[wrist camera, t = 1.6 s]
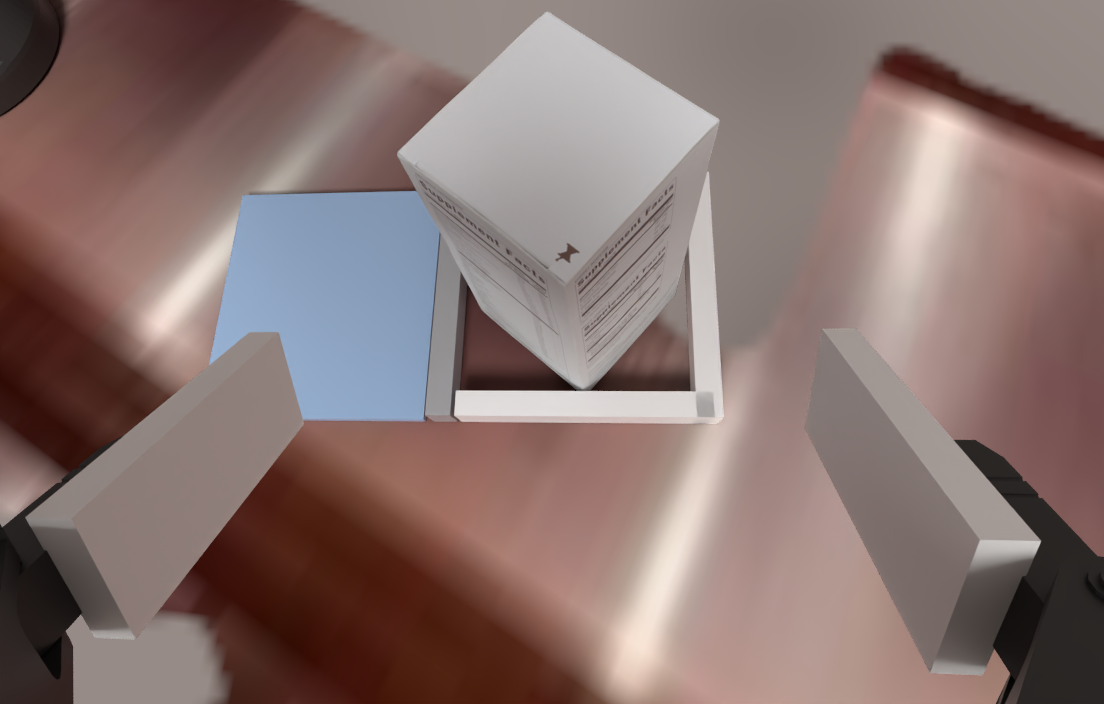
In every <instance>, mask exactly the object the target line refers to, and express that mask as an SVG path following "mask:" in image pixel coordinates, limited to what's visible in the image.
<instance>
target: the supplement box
mask: <svg viewBox="0 0 1104 704" xmlns="http://www.w3.org/2000/svg"><path fill="white" fill-rule="evenodd" d="M719 122H720V121H719V119H718V118H717V117H715V116H713V115H712V114H710V113H708V112H707V111H705V110H703V109H702V108H700V107H698V106H697V105H695V104H694V103H692V102H690V101H689V100H687V99H685V98H684V97H682V96H681V95H679V94H677V93H676V92H674V91H673V90H671V89H670V88H668V87H666V86H665V85H663V84H662V83H660V82H658V81H657V80H655V79H654V78H652V77H650V76H649V75H647V74H646V73H644V72H642V71H641V70H639V69H638V68H636V67H635V66H633V65H632V64H630V63H628V62H627V61H625V60H624V59H622V58H620V57H619V56H617V55H616V54H614V53H613V52H611V51H609V50H607V49H606V48H604V47H603V46H601V45H600V44H598V43H596V42H595V41H593V40H591V39H590V38H588V37H587V36H585V35H584V34H582V33H580V32H579V31H577V30H576V29H574V28H573V27H571V26H570V25H568V24H566V23H565V22H563V21H562V20H560V19H559V18H557V17H555V16H554V15H553V14H551V13H550V12H547V11H546V12H545V13H544V14H543V15H541V16H540V17H539V18H538V19H537V20H536V21H535V22H534V23H533V24H532V25H531V26H529V27H528V28H527V29H526V30H525V31H524V32H523V33H522V34H521V35H519V36H518V37H517V38H516V39H515V40H514V41H513V42H512V43H511V44H510V45H509V46H508V47H507V48H506V49H505V50H504V51H503V52H502V53H501V54H500V55H499V56H498V57H497V58H496V59H495V60H494V61H493V62H492V63H491V64H489V65H488V66H487V67H486V68H485V69H484V70H483V71H482V72H481V73H480V74H479V75H478V76H477V77H476V78H475V79H474V80H473V81H471V82H470V83H469V84H468V85H467V86H466V87H465V88H464V89H463V90H462V91H461V92H460V93H459V94H458V95H456V96H455V97H454V98H453V99H452V100H451V101H450V102H449V103H448V104H447V105H446V106H445V107H444V108H443V109H441V110H440V111H439V112H438V113H437V114H436V115H435V116H434V117H433V118H432V119H431V120H430V121H429V122H428V123H427V124H426V125H425V126H424V127H423V128H422V129H421V130H420V131H419V132H418V133H417V134H416V135H414V136H413V137H412V138H411V139H410V140H409V141H408V142H407V143H406V144H405V145H404V146H403V147H402V148H401V149H400V150H399V151H398V152H397V156H398V158H399V160H400V162H401V163H402V165H403V167H404V169H405V170H406V172H407V174H408V176H409V178H410V180H411V181H412V183H413V185H414V187H415V189H416V190H417V192H418V194H419V196H420V198H421V199H422V201H423V203H424V205H425V207H426V208H427V210H428V212H429V214H430V216H431V217H432V219H433V221H434V222H435V224H436V226H437V227H438V229H439V231H440V233H441V234H442V236H443V238H444V239H445V241H446V243H447V245H448V247H449V249H450V252H451V254H452V256H453V258H454V260H455V262H456V263H457V265H458V267H459V269H460V271H461V273H462V274H463V276H464V278H465V280H466V282H467V284H468V285H469V287H470V289H471V291H472V293H473V295H474V296H475V298H476V300H477V302H478V304H479V306H480V308H481V309H482V311H483V312H485V313H486V314H487V315H488V316H489V317H490V318H491V319H492V320H494V321H495V322H496V323H497V324H498V325H499V326H501V327H502V328H503V329H504V330H505V331H506V332H508V333H509V334H510V335H511V336H512V337H514V338H515V339H516V340H517V341H519V342H520V343H521V344H522V345H524V346H525V347H526V348H527V349H528V350H530V351H531V352H532V353H533V354H534V355H536V356H537V357H538V358H539V359H540V360H541V361H543V362H544V363H545V364H546V365H547V366H549V367H550V368H551V369H552V370H553V371H555V372H556V373H557V374H558V375H559V376H560V377H562V378H563V379H564V380H565V381H566V382H568V383H569V384H570V385H571V386H572V387H573V388H575V389H576V390H577V391H590V390H591V389H592V388H593V387H594V386H595V385H596V384H597V383H598V382H599V380H600V379H601V378H602V377H603V376H604V375H605V374H606V373H607V372H608V371H609V369H610V368H611V367H612V366H613V365H614V364H615V363H616V362H617V361H618V360H619V358H620V357H621V356H622V355H623V354H624V353H625V352H626V351H627V350H628V348H629V347H630V346H631V345H632V344H633V343H634V342H635V341H636V339H637V338H638V337H639V336H640V335H641V334H642V333H643V332H644V330H645V329H646V328H647V327H648V326H649V325H650V324H651V322H652V321H653V320H654V319H655V318H656V317H657V316H658V314H659V313H660V312H661V311H662V310H663V309H664V307H665V306H666V305H667V304H668V303H669V302H670V301H671V300H672V298H673V297H674V296H675V294H676V290H677V287H678V282H679V279H680V275H681V271H682V267H683V263H684V259H685V255H686V251H687V248H688V244H689V240H690V236H691V232H692V228H693V224H694V220H695V216H696V213H697V209H698V205H699V201H700V197H701V193H702V189H703V185H704V182H705V178H706V174H707V170H708V166H709V162H710V158H711V154H712V151H713V147H714V143H715V139H716V135H717V131H718V127H719Z"/></svg>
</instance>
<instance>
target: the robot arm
mask: <svg viewBox="0 0 1104 704" xmlns="http://www.w3.org/2000/svg"><path fill="white" fill-rule="evenodd" d="M58 40H59V23H58V18H57V15H56V13H55V10H54V9H53V7H52V5H51V4H50V3H49V1H48V0H0V115H1V114H3V113H4V112H6V111H7V110H9V109H10V108H12V107H13V106H14V105H16V104H17V103H18V102H19V101H21V100H22V99H23V98H24V97H25V96H26V95H27V94H28V93H29V92H30V91H31V90H32V89H33V88H34V87H35V86H36V85H37V83H38V82H39V81H40V80H41V78H42V77H43V76H44V74H45V73H46V71H47V69H48V68H49V66H50V64H51V62H52V60H53V58H54V55H55V52H56V49H57V45H58ZM303 425H304V422H303V418H302V415H301V411H300V407H299V404H298V400H297V397H296V393H295V389H294V386H293V382H292V379H291V375H290V371H289V368H288V364H287V360H286V357H285V353H284V350H283V346H282V342H281V339H280V335H279V332H249V333H248V334H247V335H245V336H244V337H243V338H242V339H241V340H239V341H238V342H237V343H236V344H235V345H233V346H232V347H231V348H230V349H229V350H227V351H226V352H225V353H224V354H222V355H221V356H220V357H219V358H218V359H216V360H215V361H214V362H213V363H212V364H210V365H209V366H208V367H207V368H206V369H204V370H203V371H202V372H201V373H199V374H198V375H197V376H196V377H195V378H193V379H192V380H191V381H190V382H189V383H187V384H186V385H185V386H184V387H183V388H181V389H180V390H179V391H178V392H176V393H175V394H174V395H173V396H172V397H170V398H169V399H168V400H167V401H166V402H164V403H163V404H162V405H161V406H159V407H158V408H157V409H156V410H155V411H153V412H152V413H151V414H150V415H149V416H147V417H146V418H145V419H144V420H143V421H141V422H140V423H139V424H138V425H136V426H135V427H134V428H133V429H132V430H130V431H129V432H128V433H127V434H126V435H124V436H122V437H120V438H118V439H116V440H114V441H113V442H111V443H109V444H107V445H105V446H103V447H101V448H100V449H98V450H97V451H96V452H95V453H93V454H92V455H91V456H90V457H88V458H87V459H86V460H85V461H84V462H82V463H81V464H80V465H79V468H78V469H74V470H72V471H71V472H70V473H69V474H68V475H66V476H65V477H64V478H63V479H62V482H61V483H56V484H55V485H54V486H53V487H52V488H50V489H49V490H48V491H47V492H45V493H44V494H43V495H42V496H40V497H39V498H38V499H37V500H35V501H34V502H33V503H32V504H31V505H29V506H28V507H27V508H26V509H24V510H23V511H22V512H21V513H19V514H18V515H17V516H16V517H15V518H13V519H12V520H11V521H10V522H9V523H7V524H6V525H5V526H3V527H1V525H0V704H73V646H72V643H71V641H70V639H69V637H68V635H67V633H66V632H65V631H66V630H67V629H68V628H69V627H70V625H71V624H72V623H73V622H74V621H75V620H76V619H77V618H78V617H79V616H80V615H82V616H83V618H84V620H85V622H86V623H87V625H88V627H89V629H90V630H91V632H92V634H93V635H94V637H95V638H114V639H136V638H137V637H138V636H139V635H140V633H141V632H142V631H143V630H144V628H145V627H146V626H147V624H148V623H149V622H150V621H151V619H152V618H153V617H154V615H155V614H156V613H157V612H158V610H159V609H160V608H161V606H162V605H163V604H164V603H165V601H166V600H167V599H168V598H169V596H170V595H171V594H172V592H173V591H174V590H175V589H176V587H177V586H178V585H179V583H180V582H181V581H182V580H183V578H184V577H185V576H186V574H187V573H188V572H189V571H190V569H191V568H192V567H193V566H194V564H195V563H196V562H197V560H198V559H199V558H200V557H201V555H202V554H203V553H204V551H205V550H206V549H207V548H208V546H209V545H210V544H211V542H212V541H213V540H214V539H215V537H216V536H217V535H218V533H219V532H220V531H221V530H222V528H223V527H224V526H225V525H226V523H227V522H228V521H229V519H230V518H231V517H232V516H233V514H234V513H235V512H236V510H237V509H238V508H239V507H240V505H241V504H242V503H243V501H244V500H245V499H246V498H247V496H248V495H249V494H250V493H251V491H252V490H253V489H254V487H255V486H256V485H257V484H258V482H259V481H260V480H261V478H262V477H263V476H264V475H265V473H266V472H267V471H268V469H269V468H270V467H271V466H272V464H273V463H274V462H275V461H276V459H277V458H278V457H279V455H280V454H281V453H282V452H283V450H284V449H285V448H286V446H287V445H288V444H289V443H290V441H291V440H292V439H293V437H294V436H295V435H296V434H297V432H298V431H299V430H300V429H301V427H302V426H303ZM805 430H806V432H807V434H808V436H809V438H810V440H811V442H812V443H813V445H814V447H815V449H816V451H817V453H818V455H819V457H820V459H821V461H822V463H823V465H824V467H825V469H826V471H827V473H828V475H829V477H830V479H831V481H832V483H833V484H834V486H835V488H836V490H837V492H838V494H839V496H840V498H841V500H842V502H843V504H844V506H845V508H846V510H847V512H848V514H849V516H850V518H851V520H852V522H853V524H854V526H855V527H856V529H857V531H858V533H859V535H860V537H861V539H862V541H863V543H864V545H865V547H866V549H867V551H868V553H869V555H870V557H871V559H872V561H873V563H874V565H875V567H876V568H877V570H878V572H879V574H880V576H881V578H882V580H883V582H884V584H885V586H886V588H887V590H888V592H889V594H890V596H891V598H892V600H893V602H894V604H895V606H896V608H897V609H898V611H899V613H900V615H901V617H902V619H903V621H904V623H905V625H906V627H907V629H908V631H909V633H910V635H911V637H912V639H913V641H914V643H915V645H916V647H917V649H918V651H919V652H920V654H921V656H922V658H923V660H924V662H925V664H926V666H927V668H928V670H929V672H930V673H942V674H965V675H983V673H984V671H985V668H986V666H987V664H988V662H989V659H990V657H991V655H992V653H993V650H994V649H995V650H996V652H997V653H998V655H999V656H1000V658H1001V660H1002V661H1003V663H1004V664H1005V666H1006V667H1007V669H1008V671H1009V672H1010V675H1009V677H1008V679H1007V681H1006V683H1005V686H1004V688H1003V690H1002V692H1001V694H1000V696H999V698H998V700H997V703H996V704H1104V557H1100V556H1097V555H1096V554H1095V553H1094V552H1093V551H1092V550H1091V549H1090V548H1089V547H1088V546H1087V545H1086V544H1085V543H1084V542H1083V541H1082V539H1081V538H1080V537H1079V536H1078V535H1077V534H1076V533H1075V532H1074V531H1073V530H1072V529H1071V528H1070V527H1069V526H1068V525H1067V524H1066V523H1065V522H1064V521H1063V519H1062V518H1061V517H1060V516H1059V515H1058V514H1057V513H1056V512H1055V511H1054V510H1053V509H1052V508H1051V507H1050V506H1049V505H1048V504H1047V503H1046V502H1045V501H1044V500H1043V498H1039V497H1038V493H1037V492H1036V491H1035V490H1034V489H1033V488H1032V487H1031V486H1030V485H1029V484H1028V483H1027V482H1026V481H1023V480H1022V476H1021V475H1020V474H1019V473H1018V472H1017V471H1016V470H1015V469H1014V468H1013V467H1012V466H1011V465H1010V464H1009V463H1008V462H1007V461H1006V460H1005V458H1004V457H1002V456H1000V455H999V454H997V453H995V452H994V451H992V450H991V449H989V448H987V447H986V446H984V445H982V444H981V443H979V442H978V441H976V440H953V439H952V438H951V437H950V435H949V434H948V433H947V432H946V431H945V430H944V429H943V427H942V426H941V425H940V424H939V423H938V422H937V420H936V419H935V418H934V417H933V416H932V415H931V414H930V412H929V411H928V410H927V409H926V408H925V407H924V405H923V404H922V403H921V402H920V401H919V400H918V399H917V397H916V396H915V395H914V394H913V393H912V392H911V390H910V389H909V388H908V387H907V386H906V385H905V384H904V382H903V381H902V380H901V379H900V378H899V377H898V375H897V374H896V373H895V372H894V371H893V370H892V369H891V367H890V366H889V365H888V364H887V363H886V362H885V360H884V359H883V358H882V357H881V356H880V355H879V354H878V352H877V351H876V350H875V349H874V348H873V347H872V346H871V344H870V343H869V342H868V341H867V340H866V339H865V337H864V336H863V335H862V334H861V333H860V332H859V331H858V329H857V328H850V329H822V332H821V338H820V344H819V349H818V355H817V361H816V366H815V372H814V377H813V383H812V389H811V394H810V400H809V406H808V411H807V417H806V423H805Z"/></svg>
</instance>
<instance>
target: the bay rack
mask: <svg viewBox="0 0 1104 704" xmlns="http://www.w3.org/2000/svg"><path fill="white" fill-rule="evenodd" d="M685 280H686V302H687V324H688V347H689V369H690V391H460V383H461V368H462V354H463V340H464V326H465V312H466V297H467V282H466V280H465V278H464V276H463V274H462V273H461V271H460V269H459V267H458V265H457V263H456V262H455V260H454V258H453V256H452V254H451V252H450V249H449V247H448V245H447V243H446V241H445V239H444V238H443V236H442V234H441V233H440V231H439V229H438V227H437V226H436V224H435V222H434V221H433V219H432V217H431V216H430V214H429V212H428V210H427V208H426V207H425V205H424V203H423V201H422V199H421V198H420V196H419V194H418V192H417V191H394V192H353V193H312V194H271V195H243V197H242V202H241V207H240V212H239V217H238V222H237V227H236V232H235V237H234V242H233V247H232V252H231V258H230V263H229V268H228V273H227V278H226V283H225V288H224V293H223V298H222V303H221V308H220V313H219V318H218V323H217V328H216V333H215V338H214V343H213V348H212V353H211V358H210V363H209V365H210V364H212V363H213V362H214V361H215V360H216V359H218V358H219V357H220V356H221V355H222V354H224V353H225V352H226V351H227V350H229V349H230V348H231V347H232V346H233V345H235V344H236V343H237V342H238V341H239V340H241V339H242V338H243V337H244V336H245V335H247V334H248V333H249V332H279V335H280V339H281V342H282V346H283V350H284V353H285V357H286V360H287V364H288V368H289V371H290V375H291V379H292V382H293V386H294V389H295V393H296V397H297V400H298V404H299V407H300V411H301V415H302V418H303V420H312V421H426V416H427V417H428V418H430V419H431V420H432V421H434V422H458V419H459V420H460V421H461V422H547V423H665V424H718V423H719V422H720V421H721V420H722V419H723V418H724V411H723V394H722V378H721V361H720V345H719V330H718V312H717V296H716V280H715V263H714V247H713V230H712V214H711V198H710V181H709V172H707V174H706V178H705V182H704V185H703V189H702V193H701V197H700V201H699V205H698V209H697V213H696V216H695V220H694V224H693V228H692V232H691V236H690V240H689V244H688V248H687V251H686V255H685Z"/></svg>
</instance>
